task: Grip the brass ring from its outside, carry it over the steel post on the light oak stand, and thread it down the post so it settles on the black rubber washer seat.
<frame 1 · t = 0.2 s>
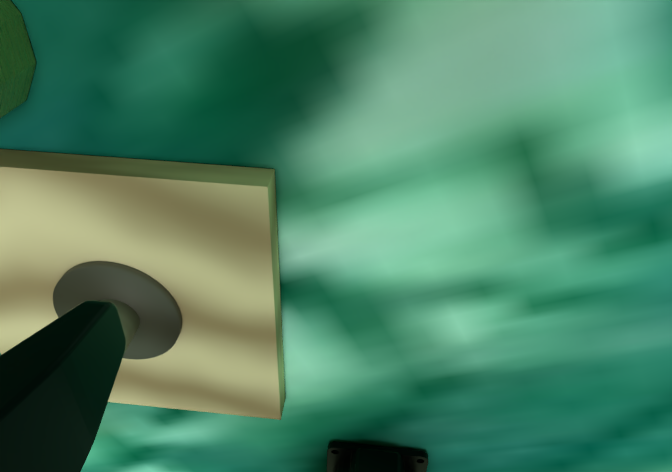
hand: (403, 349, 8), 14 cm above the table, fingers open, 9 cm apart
stand: (132, 290, 28), on the table
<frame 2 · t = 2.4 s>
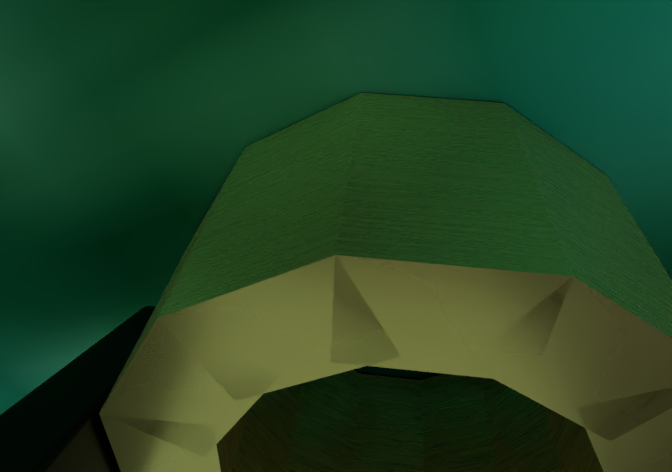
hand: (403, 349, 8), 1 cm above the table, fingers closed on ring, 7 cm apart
ring: (402, 293, 9), on the table, touching gripper
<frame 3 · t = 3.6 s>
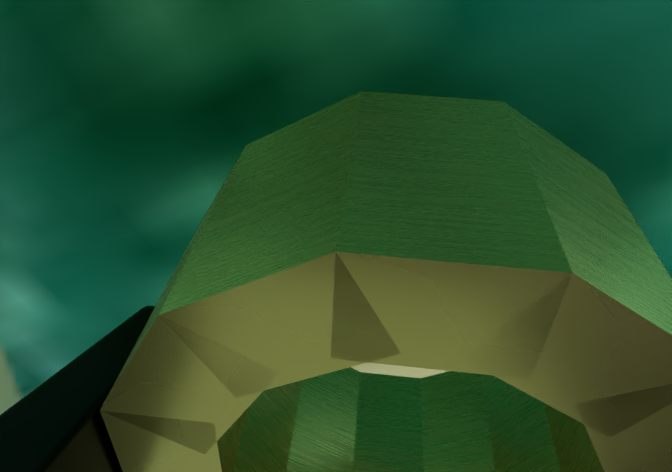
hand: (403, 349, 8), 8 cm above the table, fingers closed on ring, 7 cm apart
ring: (402, 291, 9), point 6 cm above the table, touching gripper
stand: (491, 437, 22), on the table
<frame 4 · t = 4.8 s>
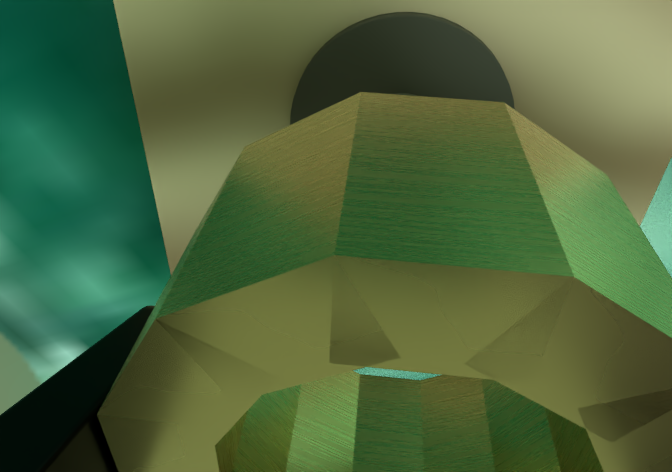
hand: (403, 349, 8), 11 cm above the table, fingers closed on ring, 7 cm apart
ring: (402, 293, 9), point 9 cm above the table, touching gripper
stand: (399, 104, 17), on the table
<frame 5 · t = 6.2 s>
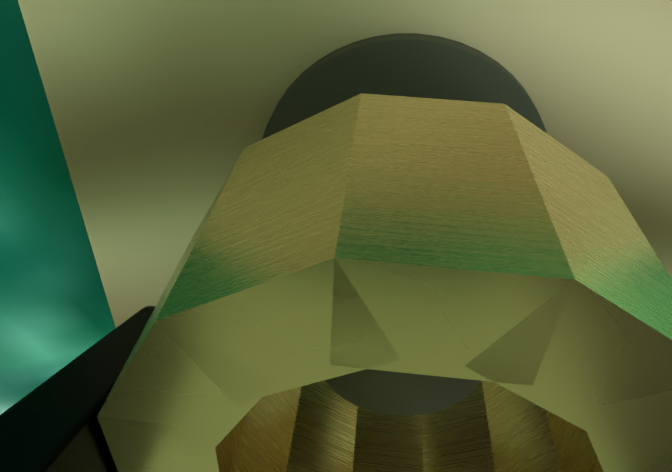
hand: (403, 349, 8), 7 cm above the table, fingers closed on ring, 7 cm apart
ring: (402, 295, 9), point 5 cm above the table, touching gripper
stand: (399, 147, 13), on the table
when the fingers open (4 cm above the table, at t = 7.3 s): ring drops 1 cm, resting on stand.
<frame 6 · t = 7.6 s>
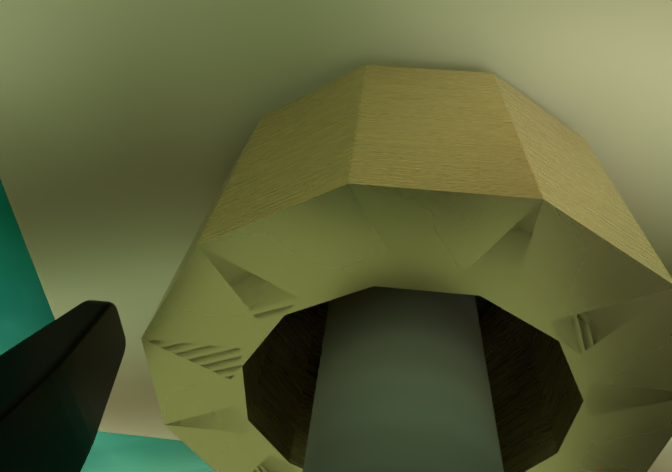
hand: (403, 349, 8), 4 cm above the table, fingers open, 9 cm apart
ring: (403, 252, 10), point 2 cm above the table, touching stand
stand: (401, 195, 12), on the table
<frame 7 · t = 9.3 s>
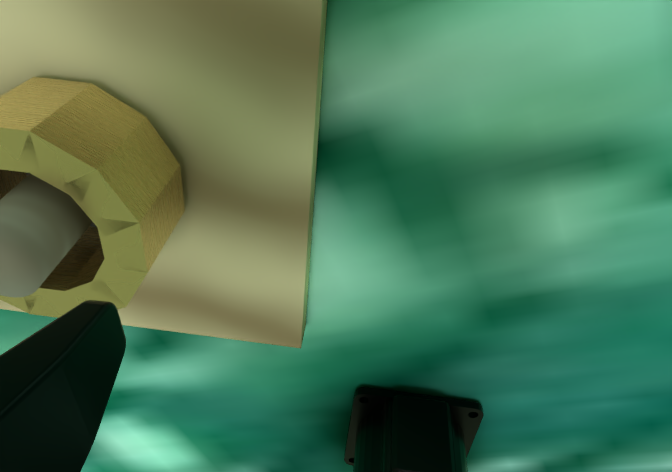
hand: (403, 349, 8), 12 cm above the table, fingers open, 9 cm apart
ring: (85, 176, 19), point 2 cm above the table, touching stand
stand: (108, 150, 20), on the table
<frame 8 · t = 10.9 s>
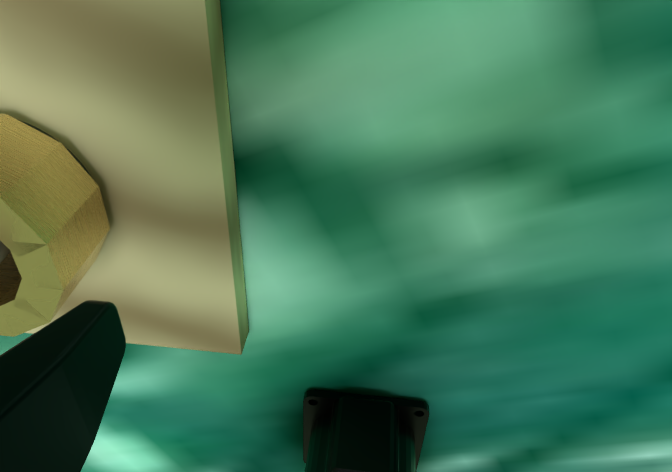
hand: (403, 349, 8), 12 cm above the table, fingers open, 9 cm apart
ring: (13, 200, 20), point 2 cm above the table, touching stand
stand: (41, 173, 22), on the table
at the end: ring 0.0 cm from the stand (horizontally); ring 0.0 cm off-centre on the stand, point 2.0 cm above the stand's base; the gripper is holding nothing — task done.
